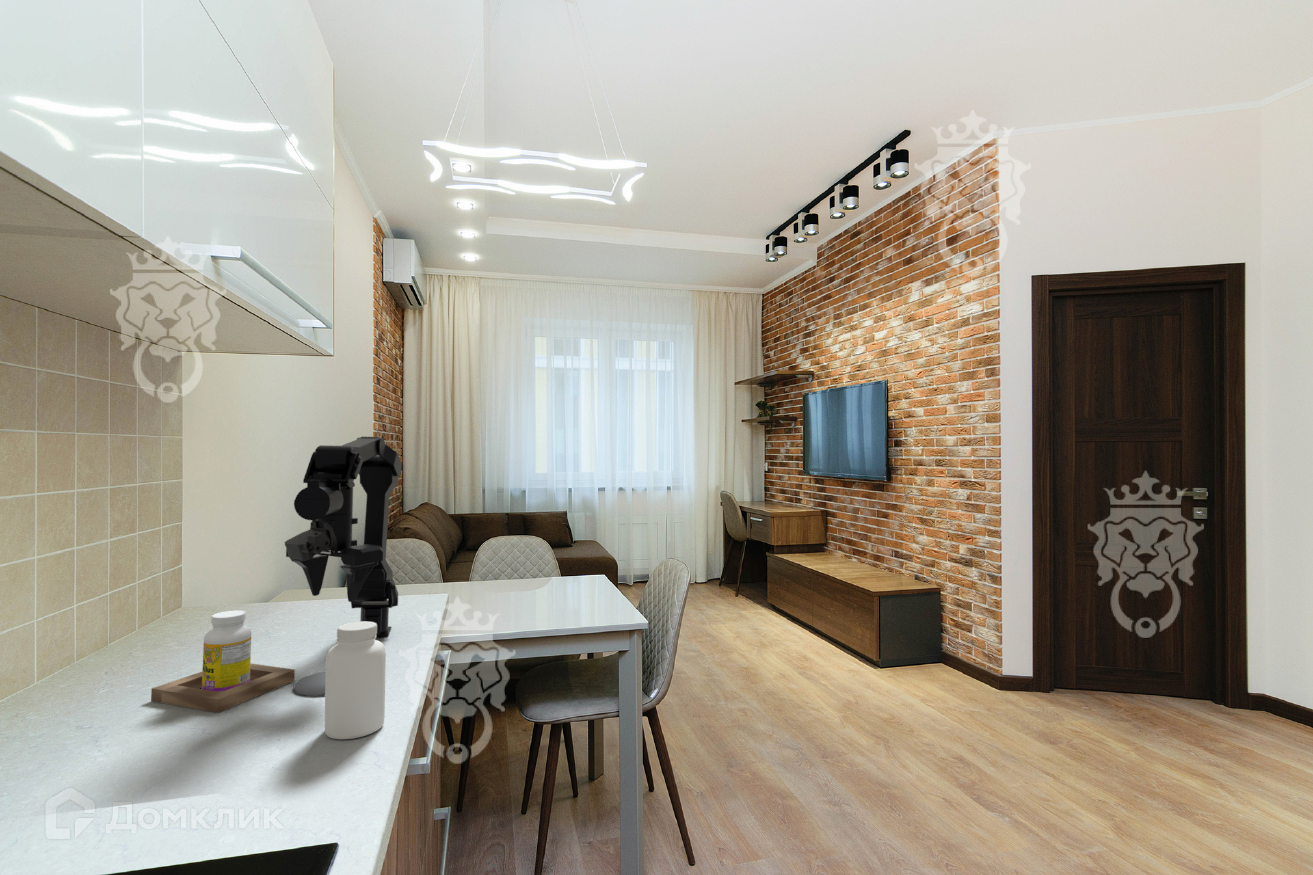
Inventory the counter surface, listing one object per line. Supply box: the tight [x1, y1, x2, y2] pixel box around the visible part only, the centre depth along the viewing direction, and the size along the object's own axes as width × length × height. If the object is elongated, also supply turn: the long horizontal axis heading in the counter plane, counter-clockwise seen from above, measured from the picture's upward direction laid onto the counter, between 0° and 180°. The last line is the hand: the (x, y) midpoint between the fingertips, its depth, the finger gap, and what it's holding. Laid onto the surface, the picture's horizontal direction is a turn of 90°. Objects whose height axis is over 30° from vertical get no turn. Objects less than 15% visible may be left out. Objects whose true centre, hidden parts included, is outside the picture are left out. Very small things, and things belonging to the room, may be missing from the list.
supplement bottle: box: [201, 610, 252, 692], centre depth 103 cm, size 7×7×13 cm
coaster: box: [293, 670, 326, 697], centre depth 107 cm, size 11×11×1 cm
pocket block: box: [150, 662, 296, 713], centre depth 103 cm, size 14×14×2 cm
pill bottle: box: [323, 621, 387, 740], centre depth 90 cm, size 8×8×15 cm
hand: (333, 598), depth 113 cm, fingers open, 9 cm apart
